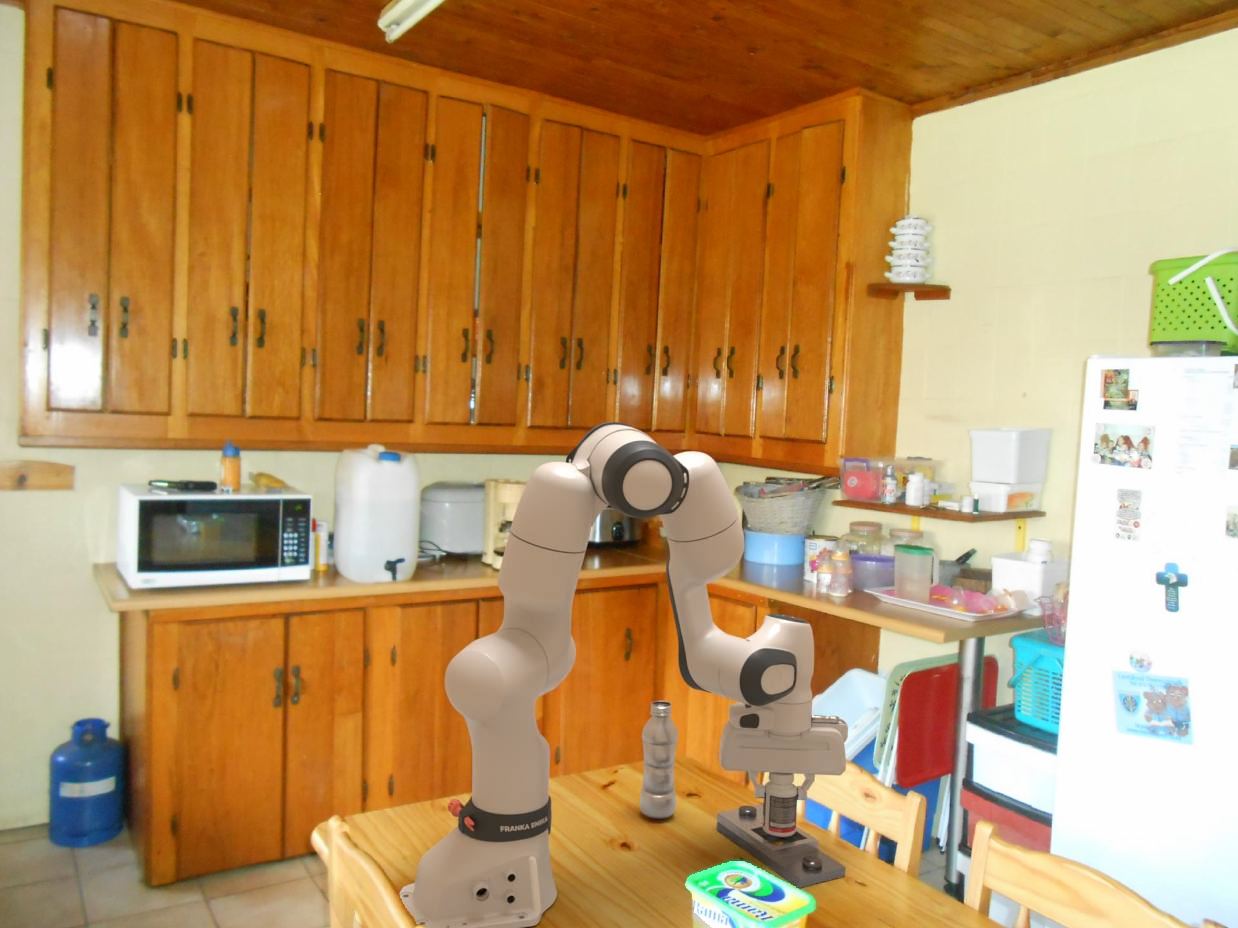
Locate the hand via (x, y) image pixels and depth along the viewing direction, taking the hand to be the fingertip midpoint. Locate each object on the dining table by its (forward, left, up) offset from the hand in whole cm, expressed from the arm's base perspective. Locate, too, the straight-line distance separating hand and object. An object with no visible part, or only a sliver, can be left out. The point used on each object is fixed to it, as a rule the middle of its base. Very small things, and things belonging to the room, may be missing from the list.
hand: (780, 797), depth 152 cm
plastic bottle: (-11, +20, -9) cm, 25 cm away
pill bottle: (0, 0, -6) cm, 6 cm away
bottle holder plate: (0, 0, -9) cm, 9 cm away
